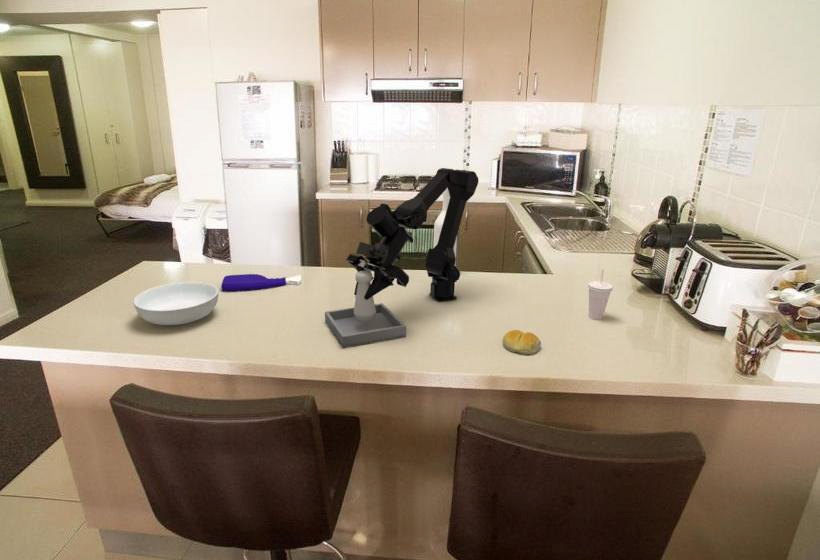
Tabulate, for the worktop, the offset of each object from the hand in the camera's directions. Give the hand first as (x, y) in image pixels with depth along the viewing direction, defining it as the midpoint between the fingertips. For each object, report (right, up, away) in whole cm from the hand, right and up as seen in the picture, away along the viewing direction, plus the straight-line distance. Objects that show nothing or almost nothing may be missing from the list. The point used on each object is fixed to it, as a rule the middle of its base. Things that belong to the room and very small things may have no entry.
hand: (360, 297), depth 126 cm
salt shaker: (+1, -6, +3) cm, 7 cm away
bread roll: (+40, -12, -4) cm, 42 cm away
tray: (+1, -9, +4) cm, 9 cm away
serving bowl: (-50, -6, +9) cm, 51 cm away
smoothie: (+65, -6, +14) cm, 67 cm away
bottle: (+25, +7, +50) cm, 57 cm away
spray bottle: (-35, +2, +35) cm, 50 cm away
